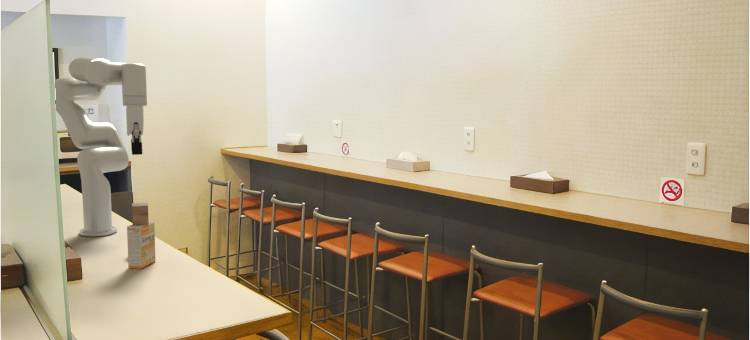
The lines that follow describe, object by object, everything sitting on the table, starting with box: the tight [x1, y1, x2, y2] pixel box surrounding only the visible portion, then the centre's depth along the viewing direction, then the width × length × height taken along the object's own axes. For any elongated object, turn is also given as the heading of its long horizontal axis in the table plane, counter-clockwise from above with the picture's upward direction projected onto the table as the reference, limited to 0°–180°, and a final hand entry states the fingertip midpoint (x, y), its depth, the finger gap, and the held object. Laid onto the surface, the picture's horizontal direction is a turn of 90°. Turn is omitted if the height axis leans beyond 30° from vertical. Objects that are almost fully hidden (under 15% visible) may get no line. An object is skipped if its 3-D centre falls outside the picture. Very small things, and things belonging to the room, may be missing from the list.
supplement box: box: [126, 220, 156, 270], centre depth 197 cm, size 8×5×13 cm, turn 169°
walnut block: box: [131, 202, 150, 226], centre depth 196 cm, size 4×4×6 cm
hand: (136, 152), depth 214 cm, fingers open, 9 cm apart
